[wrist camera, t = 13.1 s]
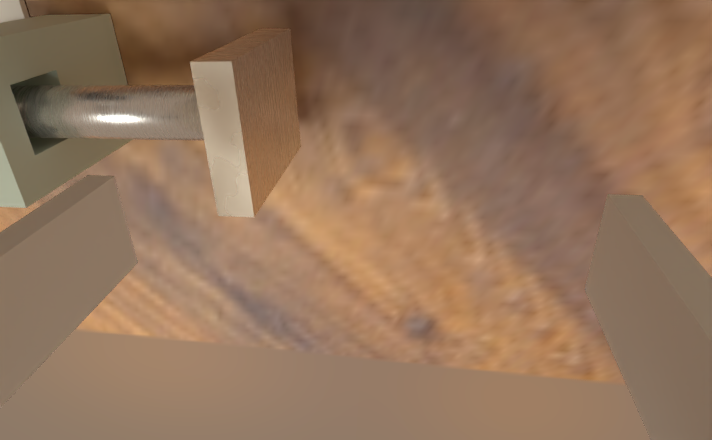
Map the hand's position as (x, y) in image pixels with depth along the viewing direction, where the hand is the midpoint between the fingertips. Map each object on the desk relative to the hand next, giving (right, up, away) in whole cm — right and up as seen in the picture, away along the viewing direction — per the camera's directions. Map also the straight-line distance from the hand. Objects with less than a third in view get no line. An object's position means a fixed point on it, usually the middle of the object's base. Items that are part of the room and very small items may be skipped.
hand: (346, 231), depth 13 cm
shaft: (-11, +7, +13) cm, 19 cm away
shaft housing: (-15, +9, +17) cm, 24 cm away
